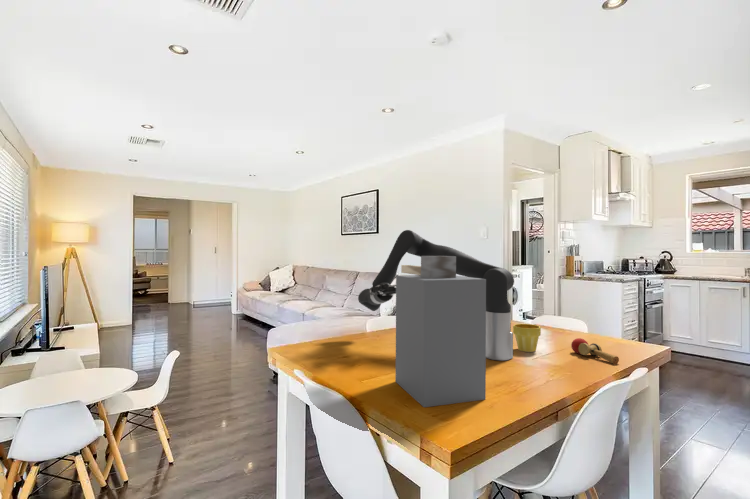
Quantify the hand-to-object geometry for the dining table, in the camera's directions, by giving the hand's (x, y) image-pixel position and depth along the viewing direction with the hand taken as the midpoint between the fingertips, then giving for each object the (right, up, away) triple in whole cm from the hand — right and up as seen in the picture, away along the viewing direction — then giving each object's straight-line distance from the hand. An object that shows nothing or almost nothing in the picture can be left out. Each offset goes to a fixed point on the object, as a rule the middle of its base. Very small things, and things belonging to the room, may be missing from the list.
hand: (395, 286), depth 142 cm
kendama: (+75, -27, +2) cm, 80 cm away
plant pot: (+54, -27, +13) cm, 61 cm away
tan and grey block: (+7, +6, -22) cm, 24 cm away
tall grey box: (+10, -26, -33) cm, 43 cm away
